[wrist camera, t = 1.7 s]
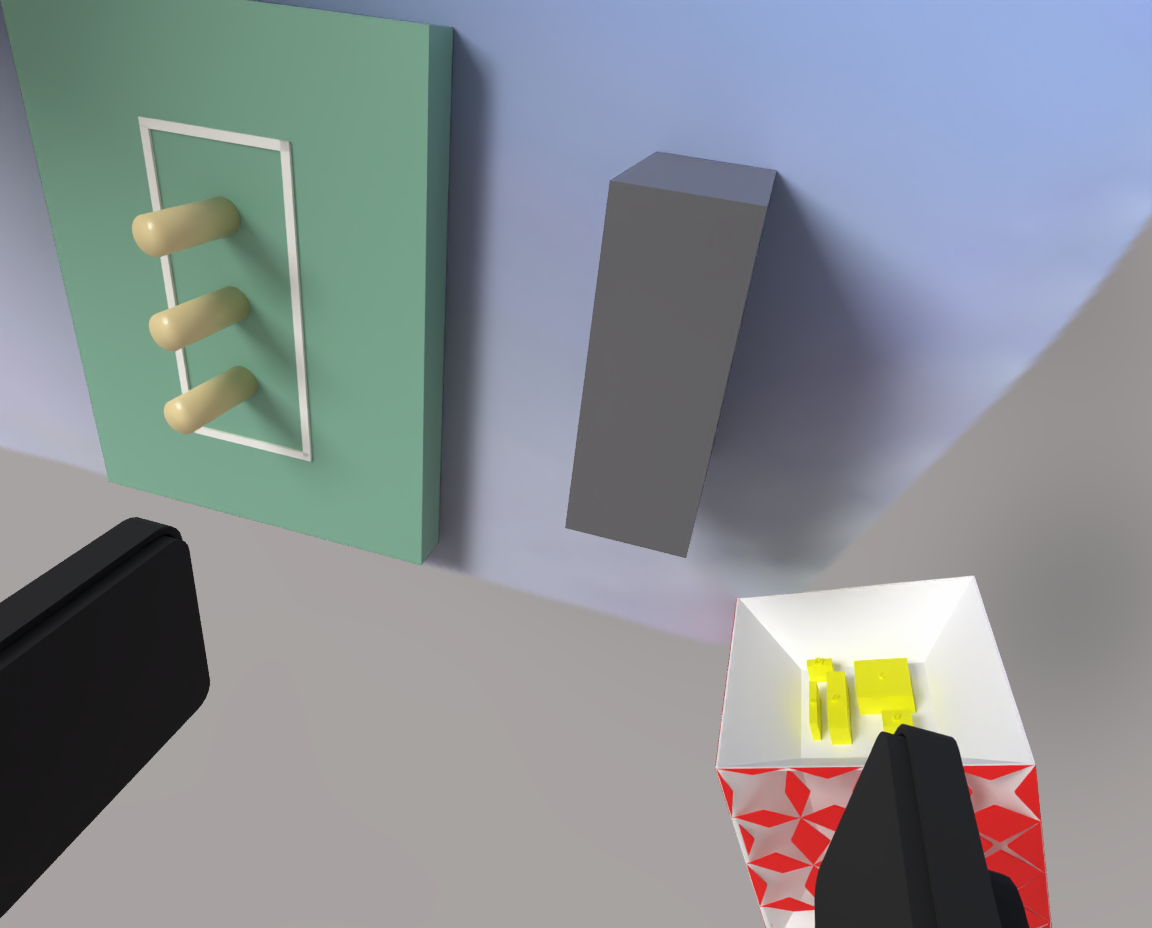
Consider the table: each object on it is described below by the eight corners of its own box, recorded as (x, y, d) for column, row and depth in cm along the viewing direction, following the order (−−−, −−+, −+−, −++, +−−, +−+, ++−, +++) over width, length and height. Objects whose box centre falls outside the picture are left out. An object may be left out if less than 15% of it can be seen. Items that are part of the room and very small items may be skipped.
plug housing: (776, 170, 21) (766, 206, 16) (710, 458, 26) (685, 557, 20) (656, 151, 22) (610, 180, 16) (612, 435, 26) (565, 527, 21)
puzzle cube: (975, 575, 25) (1036, 764, 18) (996, 749, 28) (1056, 968, 21) (734, 597, 28) (712, 768, 21) (777, 753, 31) (769, 947, 24)
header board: (453, 27, 21) (370, 19, 17) (438, 542, 30) (381, 617, 26) (39, -29, 24) (-120, -47, 20) (138, 464, 33) (42, 521, 29)
